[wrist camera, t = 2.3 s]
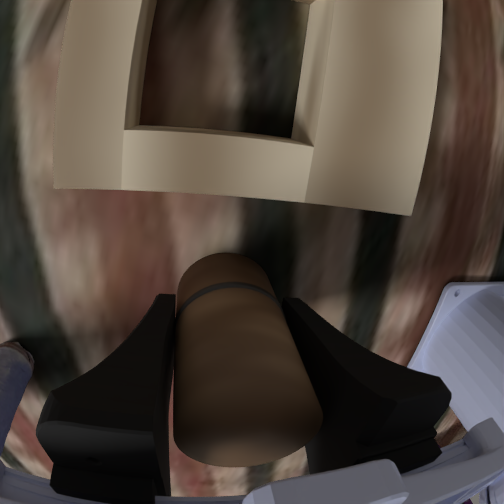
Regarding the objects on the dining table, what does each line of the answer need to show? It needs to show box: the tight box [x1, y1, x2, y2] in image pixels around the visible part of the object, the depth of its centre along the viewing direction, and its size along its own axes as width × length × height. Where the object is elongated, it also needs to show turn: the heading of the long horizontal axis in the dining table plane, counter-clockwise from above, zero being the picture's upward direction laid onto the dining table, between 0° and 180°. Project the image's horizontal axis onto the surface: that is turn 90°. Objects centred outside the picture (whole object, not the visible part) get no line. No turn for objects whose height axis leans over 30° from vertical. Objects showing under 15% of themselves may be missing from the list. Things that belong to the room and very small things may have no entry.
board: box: [53, 0, 443, 216], centre depth 9 cm, size 12×9×2 cm
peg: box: [173, 253, 323, 467], centre depth 11 cm, size 4×4×7 cm
